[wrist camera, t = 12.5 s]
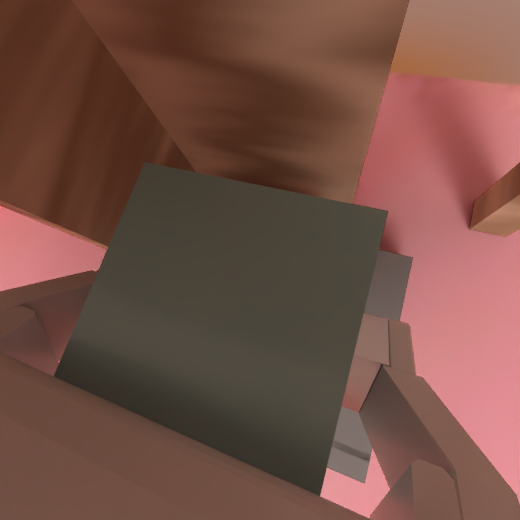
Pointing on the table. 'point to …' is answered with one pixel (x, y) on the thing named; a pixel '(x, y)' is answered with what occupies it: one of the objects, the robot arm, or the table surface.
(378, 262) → the grey square frame
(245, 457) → the teal block
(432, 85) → the table surface
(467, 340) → the table surface
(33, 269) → the table surface
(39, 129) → the wooden bench
